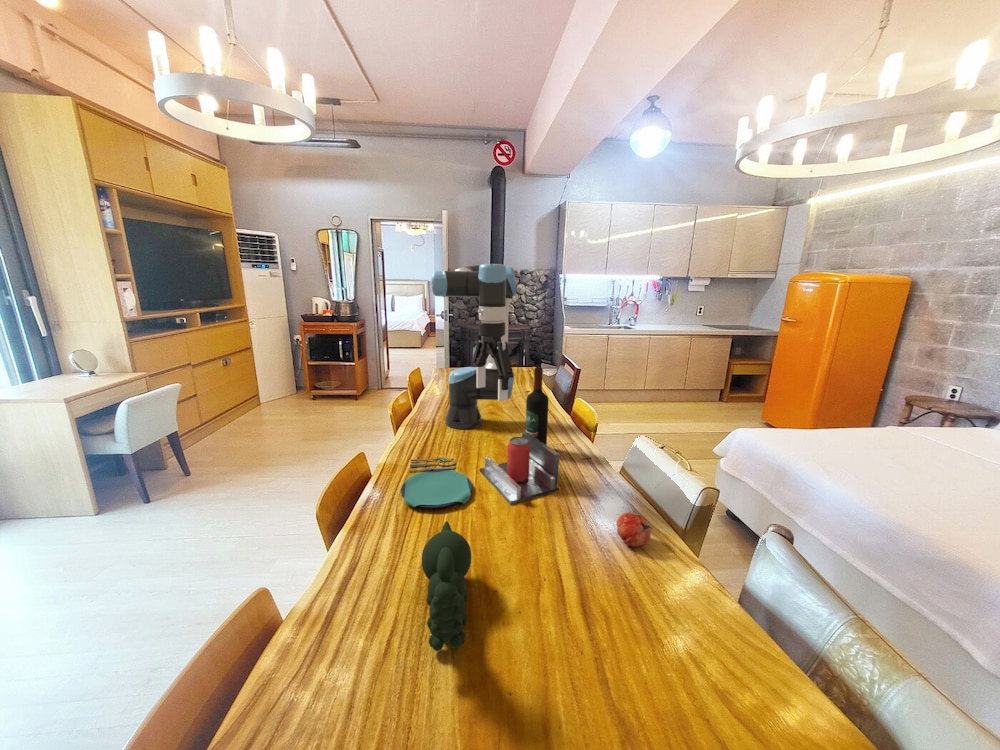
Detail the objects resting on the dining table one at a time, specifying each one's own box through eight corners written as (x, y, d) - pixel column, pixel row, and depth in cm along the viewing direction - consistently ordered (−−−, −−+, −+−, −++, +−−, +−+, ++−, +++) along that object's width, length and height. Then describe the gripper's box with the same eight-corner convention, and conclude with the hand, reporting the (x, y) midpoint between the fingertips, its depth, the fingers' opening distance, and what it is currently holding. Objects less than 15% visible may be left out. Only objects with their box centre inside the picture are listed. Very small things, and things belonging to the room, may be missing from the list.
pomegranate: (609, 550, 86) (639, 549, 78) (601, 516, 89) (629, 512, 81) (634, 544, 89) (665, 543, 81) (625, 512, 92) (654, 508, 84)
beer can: (504, 481, 109) (505, 443, 106) (508, 470, 115) (509, 435, 112) (527, 484, 107) (528, 446, 104) (530, 473, 114) (531, 437, 111)
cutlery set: (398, 517, 93) (398, 508, 93) (404, 463, 122) (404, 456, 122) (476, 509, 97) (476, 501, 97) (464, 459, 126) (464, 453, 125)
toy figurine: (478, 674, 58) (468, 550, 81) (479, 582, 52) (469, 477, 75) (416, 682, 56) (425, 554, 80) (410, 589, 50) (421, 479, 74)
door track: (479, 471, 116) (479, 438, 114) (523, 461, 123) (524, 430, 121) (510, 504, 99) (511, 467, 96) (559, 490, 106) (561, 455, 104)
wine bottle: (548, 455, 128) (551, 371, 120) (526, 455, 128) (528, 371, 120) (544, 445, 135) (547, 365, 128) (523, 446, 135) (526, 365, 127)
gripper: (461, 317, 112) (462, 384, 118) (502, 328, 91) (501, 408, 97) (483, 316, 116) (483, 381, 121) (527, 326, 95) (525, 404, 100)
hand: (491, 393), depth 109 cm, fingers open, 13 cm apart
